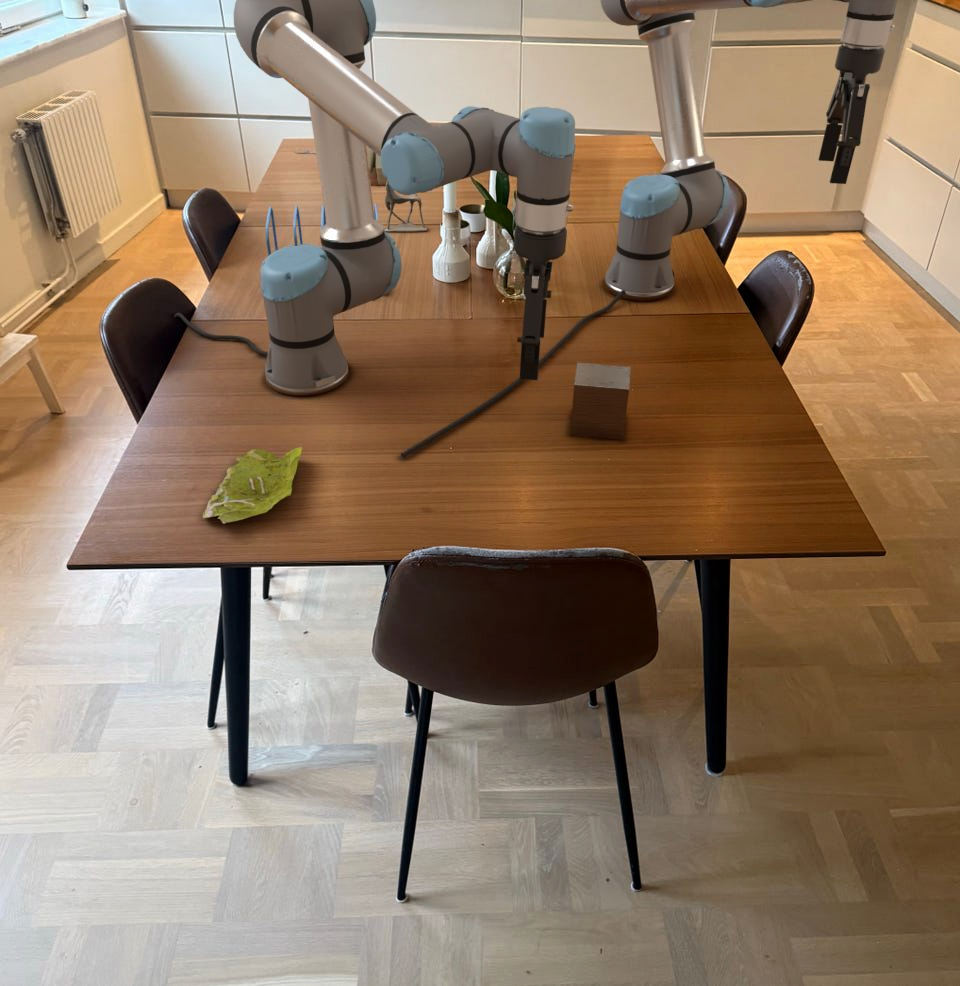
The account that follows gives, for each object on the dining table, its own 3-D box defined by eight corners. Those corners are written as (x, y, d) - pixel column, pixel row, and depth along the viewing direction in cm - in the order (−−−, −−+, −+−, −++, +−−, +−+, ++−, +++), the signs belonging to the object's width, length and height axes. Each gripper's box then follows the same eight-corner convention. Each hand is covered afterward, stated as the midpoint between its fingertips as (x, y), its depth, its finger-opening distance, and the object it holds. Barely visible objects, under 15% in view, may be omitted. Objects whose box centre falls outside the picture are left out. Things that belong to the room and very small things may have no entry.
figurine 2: (428, 222, 226) (426, 163, 217) (426, 232, 221) (424, 171, 212) (386, 222, 226) (383, 162, 217) (383, 231, 221) (379, 171, 212)
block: (622, 440, 147) (629, 389, 141) (570, 435, 148) (574, 384, 142) (624, 416, 153) (630, 366, 147) (573, 412, 154) (577, 362, 148)
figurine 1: (403, 191, 251) (406, 151, 273) (401, 160, 245) (405, 121, 267) (346, 191, 250) (354, 151, 273) (343, 160, 244) (352, 121, 267)
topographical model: (281, 533, 126) (276, 519, 124) (196, 534, 127) (191, 520, 126) (315, 454, 141) (312, 441, 140) (240, 456, 143) (236, 443, 141)
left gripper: (562, 263, 115) (550, 400, 128) (571, 197, 134) (560, 322, 148) (505, 258, 116) (500, 395, 129) (522, 194, 135) (516, 318, 148)
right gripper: (901, 61, 139) (865, 194, 152) (871, 32, 159) (841, 152, 172) (853, 59, 140) (820, 192, 153) (828, 31, 160) (801, 150, 173)
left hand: (532, 356), depth 138 cm, fingers open, 13 cm apart
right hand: (831, 171), depth 163 cm, fingers open, 13 cm apart
